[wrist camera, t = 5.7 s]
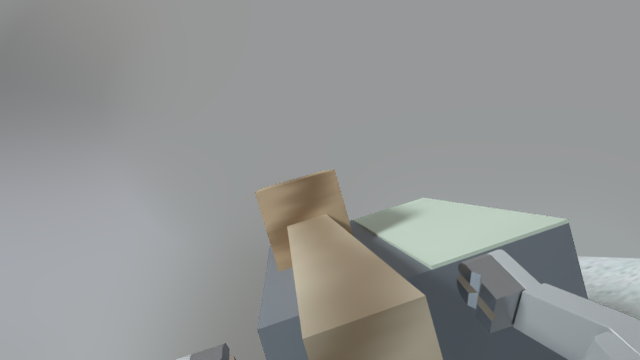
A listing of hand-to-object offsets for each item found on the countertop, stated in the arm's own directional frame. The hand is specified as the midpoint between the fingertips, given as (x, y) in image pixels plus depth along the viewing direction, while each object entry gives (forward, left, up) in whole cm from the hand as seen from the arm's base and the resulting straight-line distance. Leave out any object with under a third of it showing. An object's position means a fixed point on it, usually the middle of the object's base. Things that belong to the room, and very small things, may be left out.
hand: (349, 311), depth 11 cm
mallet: (0, +9, -2) cm, 9 cm away
